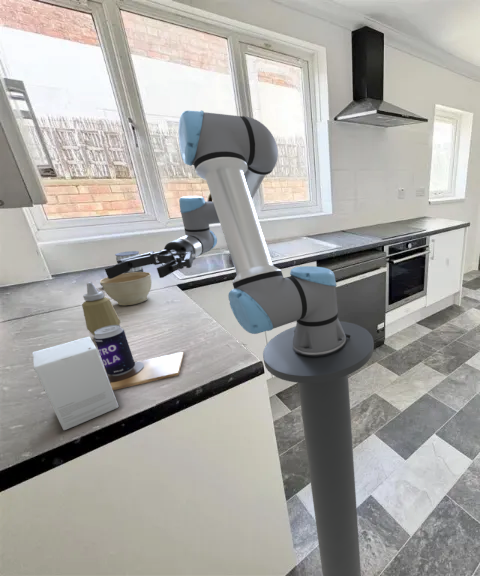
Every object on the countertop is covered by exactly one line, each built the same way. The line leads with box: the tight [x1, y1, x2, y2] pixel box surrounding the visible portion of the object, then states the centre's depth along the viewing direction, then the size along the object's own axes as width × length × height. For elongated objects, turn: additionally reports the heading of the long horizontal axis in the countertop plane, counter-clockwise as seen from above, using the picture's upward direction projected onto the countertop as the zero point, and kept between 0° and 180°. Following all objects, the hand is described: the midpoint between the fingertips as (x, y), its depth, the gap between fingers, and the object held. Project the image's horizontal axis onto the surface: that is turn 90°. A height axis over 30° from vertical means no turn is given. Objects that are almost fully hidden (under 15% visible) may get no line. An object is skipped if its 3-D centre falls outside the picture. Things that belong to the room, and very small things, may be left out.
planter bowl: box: [99, 271, 152, 306], centre depth 127 cm, size 16×16×11 cm
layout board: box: [104, 351, 185, 391], centre depth 79 cm, size 20×12×1 cm, turn 116°
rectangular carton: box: [32, 335, 119, 431], centre depth 65 cm, size 9×9×15 cm
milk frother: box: [99, 250, 144, 286], centre depth 149 cm, size 14×16×15 cm
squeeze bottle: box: [81, 281, 121, 337], centre depth 97 cm, size 8×8×18 cm
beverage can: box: [93, 324, 136, 376], centre depth 77 cm, size 6×6×12 cm
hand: (133, 273), depth 80 cm, fingers open, 13 cm apart
